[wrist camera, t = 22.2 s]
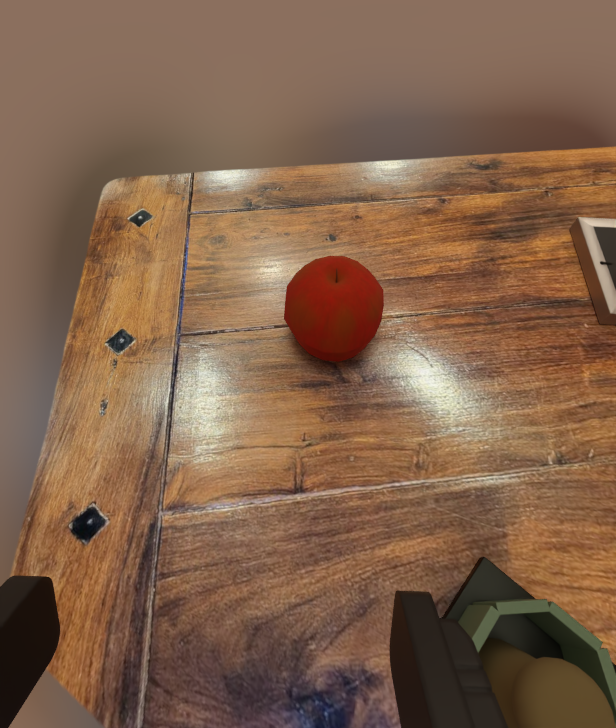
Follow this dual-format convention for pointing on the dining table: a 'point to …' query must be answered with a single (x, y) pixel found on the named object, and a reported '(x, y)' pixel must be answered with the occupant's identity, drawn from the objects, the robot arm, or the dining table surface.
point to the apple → (334, 307)
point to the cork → (543, 690)
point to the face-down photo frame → (598, 262)
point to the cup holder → (528, 625)
